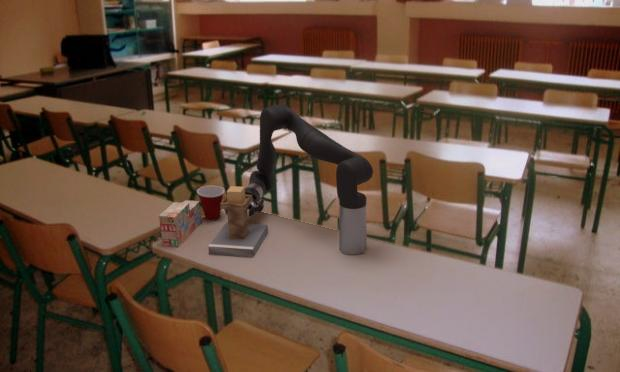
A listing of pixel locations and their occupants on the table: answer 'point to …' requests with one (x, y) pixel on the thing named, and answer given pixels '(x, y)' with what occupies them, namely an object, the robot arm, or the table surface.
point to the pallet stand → (237, 217)
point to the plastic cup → (211, 201)
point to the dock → (238, 241)
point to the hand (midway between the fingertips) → (238, 213)
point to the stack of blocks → (179, 222)
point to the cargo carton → (236, 195)
